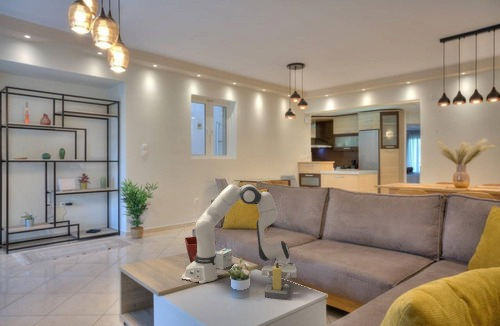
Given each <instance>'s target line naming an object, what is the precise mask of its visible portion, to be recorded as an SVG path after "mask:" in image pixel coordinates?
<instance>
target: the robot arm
mask: <svg viewBox="0 0 500 326" xmlns="http://www.w3.org/2000/svg"><path fill="white" fill-rule="evenodd" d="M273 197H274V196H273V195H272V194H271V192H269V191H259V190H258V187H257V186H256V185H255V184H253V183H245V184H243V185H240V186H238V185H236V184H234V183H231V184H228V185H227V186H226V187H225V188H224V189H223V190H222V191H221V192H220V193H219V194H218V195H217V196H216V198H215V199H214V200H213V201H212V202H211V204H210V205H209V206H208V207H207V208H206V209H205V210H204V212H203V213H202V214H201V215H200V217H199V218H198V219H197V220H196V222H195V225H194V226H195V228H194V229H195V237H196V238H197V254H196V255H195V257H194V259H195V261H193V262H192V263H191V262H190V263H189V264H188V265H187V266H186V268H185V271H184V273H183V274H182V275H181V278H183V279H191V278H194V279H199V280H201V281H199V283H198V284H206V283H207V282H213V281H215V280H218V278H219V275H218V271H217V268H216V245H215V241H216V238H215V228H216V227H217V225H218V224H219V222H220V221H221V220H222V219H223V218H224V217H225V216H226V215H227V214H228V213H229V211H230V210H231V209H232V207H234V205H235V204H236V203H237V202H238V201H242V202H243V203H244V204H246V205H256V206H257V210H258V214H259V218H258V219H257V221H256V236H257V245H258V247H257V248H258V256H259V258H260V259H261V260H262V261H264V262H267V261H270V260H274V259H275V262H274V263H273V265H269V264H268V265H264V266H263V267H262V268H261V272H260V273H261V275H262V276H265V277H266V276H267V278H268V279H271V278H272V277H273V266H276V263H279V266H281V267H282V278H284V280H288V279H297V277H298V274H297V272H298V271H297V267H296V263H293V262H291V260H290V248H289V245H288V244H287V242H285V241H283V240H279V241H275V242H270V243H267V242H266V241H265V239H266V237H265V229H266V228H268V227H269V226H271V225H273V223H275V221H276V220H277V218H278V216H279V215H278V214H279V212H278V208H277V205H276V202H275V199H274V198H273ZM217 276H218V277H217Z"/></svg>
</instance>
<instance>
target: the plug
mask: <svg viewBox="0 0 500 326" xmlns="http://www.w3.org/2000/svg"><path fill="white" fill-rule="evenodd" d="M272 266H273V276H272V283H273V290H279V291H282V284H283V277H282V267H281V266H279V263H276V266H274V265H272Z"/></svg>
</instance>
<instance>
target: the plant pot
mask: <svg viewBox="0 0 500 326" xmlns="http://www.w3.org/2000/svg"><path fill="white" fill-rule="evenodd" d="M184 240H185V241H184V242H185V248H186V252H187V256H188V259H189V262H190V264H191V263H192V262H193V261H195V259H194V257H195V255H196V254H197V238H196V236H186V237H184ZM216 245H217V243H216V240H215V246H216Z"/></svg>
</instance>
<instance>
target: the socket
mask: <svg viewBox="0 0 500 326" xmlns="http://www.w3.org/2000/svg"><path fill="white" fill-rule="evenodd" d="M289 292H290V284H289V283H288V284H287V283H285V284H284V283H282V291H279V290H273V282H267V285H266V287H265V289H264V298H267V299H268V298H269V299H277V300H286V301H287V300H288V298H289Z"/></svg>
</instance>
